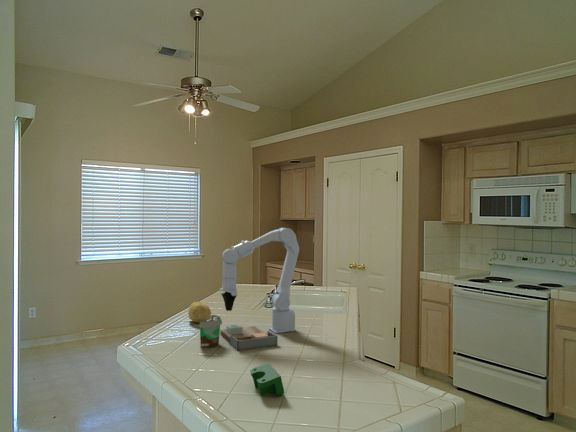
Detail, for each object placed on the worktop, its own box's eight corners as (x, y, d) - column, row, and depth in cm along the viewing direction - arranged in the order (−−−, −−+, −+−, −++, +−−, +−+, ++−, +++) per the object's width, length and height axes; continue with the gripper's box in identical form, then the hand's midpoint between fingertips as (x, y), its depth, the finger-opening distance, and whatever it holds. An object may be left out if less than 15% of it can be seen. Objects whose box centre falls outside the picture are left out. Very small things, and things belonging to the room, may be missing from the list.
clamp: (258, 401, 122) (248, 370, 124) (277, 393, 124) (267, 362, 126) (265, 402, 111) (254, 367, 114) (286, 393, 113) (275, 359, 116)
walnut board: (254, 330, 180) (254, 326, 180) (267, 339, 168) (267, 334, 168) (220, 334, 174) (220, 329, 174) (231, 344, 161) (231, 338, 161)
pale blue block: (238, 330, 174) (238, 324, 174) (242, 333, 169) (242, 327, 169) (226, 331, 171) (226, 325, 171) (230, 334, 167) (230, 328, 167)
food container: (214, 350, 154) (215, 323, 154) (198, 349, 155) (199, 322, 155) (226, 340, 166) (226, 315, 166) (211, 339, 167) (211, 314, 167)
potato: (188, 326, 186) (188, 305, 186) (188, 318, 200) (188, 298, 200) (211, 325, 188) (211, 304, 188) (210, 318, 202) (210, 298, 202)
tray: (268, 339, 168) (268, 330, 168) (277, 345, 160) (277, 336, 160) (230, 344, 161) (230, 335, 161) (237, 350, 153) (237, 341, 153)
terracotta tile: (263, 338, 167) (263, 332, 167) (268, 342, 162) (268, 335, 162) (251, 340, 165) (251, 333, 165) (256, 343, 160) (256, 337, 160)
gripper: (215, 276, 182) (214, 307, 182) (225, 280, 169) (225, 314, 169) (230, 275, 185) (230, 306, 185) (242, 279, 172) (241, 313, 172)
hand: (228, 310), depth 177 cm, fingers closed
